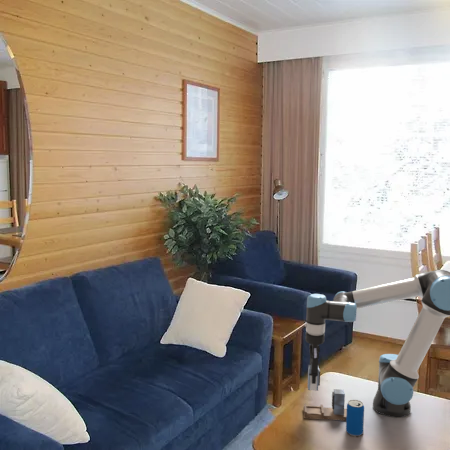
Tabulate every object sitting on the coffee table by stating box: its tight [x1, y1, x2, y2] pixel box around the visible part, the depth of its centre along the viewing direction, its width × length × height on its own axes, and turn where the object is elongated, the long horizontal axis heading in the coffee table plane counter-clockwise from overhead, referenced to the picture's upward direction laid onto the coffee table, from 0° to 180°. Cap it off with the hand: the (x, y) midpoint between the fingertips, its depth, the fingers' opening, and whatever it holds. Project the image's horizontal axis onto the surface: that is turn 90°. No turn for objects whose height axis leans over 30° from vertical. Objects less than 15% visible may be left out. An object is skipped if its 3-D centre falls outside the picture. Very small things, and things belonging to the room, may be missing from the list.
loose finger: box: [307, 364, 321, 391], centre depth 208 cm, size 5×4×9 cm
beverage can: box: [345, 399, 365, 437], centre depth 196 cm, size 6×6×12 cm
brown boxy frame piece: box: [303, 388, 347, 422], centre depth 209 cm, size 18×7×10 cm, turn 84°
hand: (312, 387), depth 209 cm, fingers closed on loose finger, 4 cm apart
